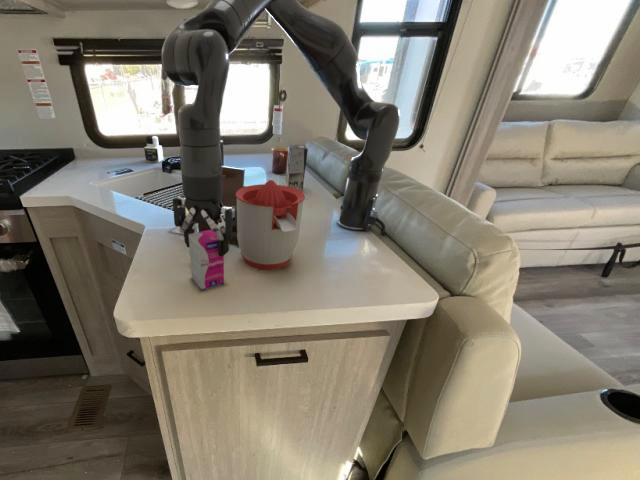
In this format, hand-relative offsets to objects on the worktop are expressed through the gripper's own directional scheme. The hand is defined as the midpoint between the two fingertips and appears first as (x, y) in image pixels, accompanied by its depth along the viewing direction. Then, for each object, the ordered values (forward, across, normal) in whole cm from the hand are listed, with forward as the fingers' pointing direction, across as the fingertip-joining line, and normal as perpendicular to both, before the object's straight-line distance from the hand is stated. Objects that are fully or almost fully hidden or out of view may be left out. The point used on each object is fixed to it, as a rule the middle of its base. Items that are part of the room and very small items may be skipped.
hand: (206, 250), depth 69 cm
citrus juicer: (+8, -7, -16) cm, 19 cm away
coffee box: (+8, +11, -78) cm, 79 cm away
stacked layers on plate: (+8, +22, -23) cm, 33 cm away
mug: (+8, +27, -99) cm, 103 cm away
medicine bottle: (+8, +94, -86) cm, 128 cm away
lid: (-6, +10, -21) cm, 24 cm away
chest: (+8, +10, -26) cm, 29 cm away
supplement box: (+8, 0, 0) cm, 8 cm away
